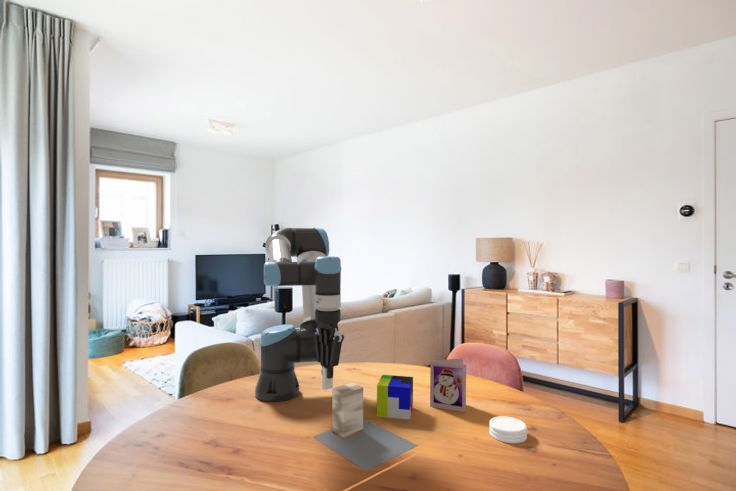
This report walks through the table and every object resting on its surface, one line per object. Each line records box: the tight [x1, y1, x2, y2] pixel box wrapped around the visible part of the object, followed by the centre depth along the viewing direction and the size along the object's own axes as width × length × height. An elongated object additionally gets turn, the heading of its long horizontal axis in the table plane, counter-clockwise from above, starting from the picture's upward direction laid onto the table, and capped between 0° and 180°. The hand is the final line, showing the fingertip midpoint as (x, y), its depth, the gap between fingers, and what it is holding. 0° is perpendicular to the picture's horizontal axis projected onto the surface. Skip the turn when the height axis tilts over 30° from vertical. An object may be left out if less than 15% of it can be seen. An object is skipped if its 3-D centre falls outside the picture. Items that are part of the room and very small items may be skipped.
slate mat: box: [312, 417, 419, 472], centre depth 109 cm, size 22×18×1 cm
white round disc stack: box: [488, 415, 528, 444], centre depth 114 cm, size 10×10×4 cm
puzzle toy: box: [376, 374, 414, 420], centre depth 128 cm, size 10×10×10 cm
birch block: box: [331, 382, 364, 439], centre depth 114 cm, size 5×7×12 cm
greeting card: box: [429, 358, 467, 413], centre depth 134 cm, size 11×7×15 cm, turn 68°
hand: (327, 388), depth 121 cm, fingers closed
